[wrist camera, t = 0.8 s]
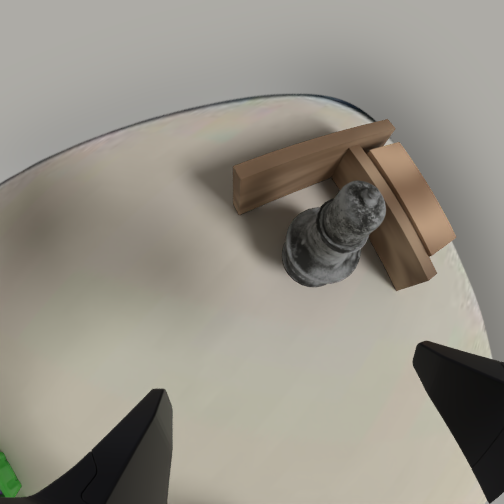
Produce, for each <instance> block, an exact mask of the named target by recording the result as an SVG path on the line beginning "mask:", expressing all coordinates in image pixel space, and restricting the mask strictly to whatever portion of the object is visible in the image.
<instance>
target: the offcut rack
mask: <svg viewBox="0 0 504 504" xmlns="http://www.w3.org/2000/svg"><path fill="white" fill-rule="evenodd" d="M394 130H395V128H394V126H393V125H392V124H391V123H390V121H389V120H388V119H387V120H382V121H378V122H374V123H370V124H365V125H361V126H357V127H354V128H350V129H346V130H342V131H339V132H335V133H331V134H328V135H324V136H321V137H318V138H314V139H311V140H308V141H304V142H301V143H298V144H295V145H292V146H289V147H286V148H283V149H280V150H277V151H274V152H271V153H268V154H265V155H262V156H259V157H257V158H254V159H251V160H248V161H246V162H243V163H240V164H238V165H235V166H233V204H234V206H235V208H236V210H237V212H238V214H239V215H241V214H243V213H245V212H248V211H250V210H252V209H255V208H257V207H260V206H262V205H264V204H267V203H269V202H271V201H274V200H276V199H279V198H281V197H284V196H286V195H288V194H291V193H293V192H296V191H298V190H301V189H303V188H306V187H308V186H311V185H313V184H316V183H318V182H321V181H324V180H326V179H329V178H331V177H332V179H333V181H334V182H335V184H336V185H337V187H338V188H339V190H341V189H342V188H343V187H344V186H345V185H346V184H348V183H350V182H352V181H357V180H358V181H365V182H368V183H370V184H372V185H373V186H375V187H376V188H378V190H379V191H380V193H381V194H382V196H383V198H384V201H385V206H386V215H385V217H384V220H383V222H382V223H381V224H380V226H379V227H378V228H376V229H375V230H374V231H373V232H371V233H370V234H369V237H368V238H369V239H370V241H371V243H372V245H373V247H374V248H375V250H376V252H377V254H378V256H379V258H380V259H381V261H382V263H383V265H384V267H385V269H386V271H387V273H388V275H389V277H390V279H391V281H392V283H393V285H394V287H395V289H396V291H398V290H401V289H404V288H407V287H410V286H414V285H417V284H420V283H423V282H426V281H429V280H430V279H431V278H432V277H433V276H435V275H436V274H437V272H436V270H435V268H434V266H433V264H432V262H431V260H430V258H429V256H428V254H427V252H426V250H425V248H424V246H423V244H422V242H421V240H420V238H419V237H418V235H417V233H416V231H415V229H414V227H413V226H412V224H411V222H410V220H409V219H408V217H407V215H406V214H405V212H404V210H403V209H402V207H401V205H400V204H399V202H398V200H397V199H396V197H395V196H394V194H393V192H392V191H391V189H390V188H389V186H388V185H387V183H386V182H385V180H384V179H383V177H382V176H381V174H380V173H379V171H378V170H377V168H376V167H375V166H374V164H373V163H372V161H371V160H370V159H369V157H368V156H367V154H368V152H369V151H370V150H372V149H375V148H379V147H383V146H384V144H385V143H386V141H387V140H388V139H389V137H390V136H391V134H392V133H393V132H394Z"/></svg>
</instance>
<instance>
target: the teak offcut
mask: <svg viewBox="0 0 504 504" xmlns="http://www.w3.org/2000/svg"><path fill="white" fill-rule="evenodd" d="M367 156H368V157H369V159H370V160H371V161H372V163H373V164H374V166H375V167H376V168H377V170H378V171H379V173H380V174H381V176H382V177H383V179H384V180H385V182H386V183H387V185H388V186H389V188H390V189H391V191H392V192H393V194H394V196H395V197H396V199H397V200H398V202H399V204H400V205H401V207H402V209H403V210H404V212H405V214H406V215H407V217H408V219H409V220H410V222H411V224H412V226H413V227H414V229H415V231H416V233H417V235H418V237H419V238H420V240H421V242H422V244H423V246H424V248H425V250H426V252H427V254H428V256H429V257H430V256H432V255H433V254H435V253H436V252H437V251H439V250H440V249H442V248H443V247H444V246H446V245H447V244H448V243H450V242H451V241H452V240H454V239H455V238H456V236H455V233H454V231H453V230H452V227H451V225H450V223H449V221H448V219H447V218H446V216H445V214H444V212H443V210H442V208H441V207H440V205H439V203H438V201H437V199H436V198H435V196H434V194H433V192H432V191H431V189H430V187H429V186H428V184H427V182H426V181H425V179H424V178H423V176H422V174H421V173H420V172H419V170H418V168H417V167H416V165H415V164H414V162H413V161H412V159H411V158H410V156H409V155H408V154H407V152H406V151H405V149H404V148H403V146H402V145H401V144H400V142H398V143H394V144H390V145H386V146H383V147H379V148H375V149H372V150H370V151H369V152H368V154H367Z"/></svg>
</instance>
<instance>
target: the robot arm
mask: <svg viewBox="0 0 504 504" xmlns="http://www.w3.org/2000/svg"><path fill="white" fill-rule="evenodd" d="M413 366H414V368H415V370H416V372H417V374H418V376H419V378H420V380H421V382H422V384H423V386H424V388H425V390H426V392H427V394H428V396H429V397H430V399H431V400H432V402H433V404H434V405H435V407H436V408H437V410H438V412H439V413H440V415H441V416H442V418H443V420H444V421H445V423H446V425H447V426H448V428H449V430H450V431H451V433H452V435H453V436H454V438H455V440H456V442H457V443H458V445H459V447H460V449H461V450H462V452H463V454H464V456H465V457H466V459H467V461H468V463H469V465H470V467H471V468H472V471H473V473H474V475H475V476H476V478H477V480H478V482H479V484H480V486H481V488H482V490H483V492H484V494H485V497H486V499H487V501H488V502H489V504H490V503H492V501H494V500H495V499H496V498H498V497H499V496H500V495H501V494H502V493H503V492H504V362H499V361H497V360H493V359H489V358H485V357H482V356H478V355H475V354H471V353H468V352H464V351H461V350H457V349H454V348H450V347H447V346H443V345H440V344H437V343H433V342H430V341H423V342H421V343H419V344H418V345H417V346H416V350H415V354H414V357H413ZM172 419H173V411H172V405H171V403H170V400H169V397H168V394H167V392H166V390H165V389H152V390H151V391H150V392H149V393H148V394H147V395H146V396H145V397H144V398H143V399H142V400H141V401H140V402H139V403H138V404H137V405H136V406H135V407H134V408H133V409H132V410H131V411H130V412H129V413H128V414H127V415H126V416H125V417H124V418H123V419H122V420H121V421H120V422H119V423H118V424H117V425H116V426H115V427H114V428H113V429H112V430H111V431H110V432H109V433H108V434H107V435H106V436H105V437H104V438H103V439H102V440H101V441H100V442H99V443H98V444H97V445H96V446H95V447H94V448H93V449H92V452H91V451H90V452H89V453H88V454H87V455H86V456H85V457H84V458H83V459H82V460H80V461H79V462H78V463H77V464H76V465H75V466H74V467H73V468H71V469H70V470H69V471H67V472H66V473H65V474H64V475H62V476H61V477H60V478H58V479H57V480H55V481H54V482H53V483H51V484H50V485H48V486H47V487H45V488H44V489H43V490H41V491H40V492H38V493H36V494H34V495H31V496H28V497H0V504H167V498H168V487H169V477H170V468H171V459H172V449H173V439H172Z"/></svg>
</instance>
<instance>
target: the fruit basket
mask: <svg viewBox="0 0 504 504" xmlns="http://www.w3.org/2000/svg"><path fill="white" fill-rule="evenodd" d="M21 486H22V485H21V483H20V482H19V481H18V480H17V477H16V475H15V473H14V472H13V470H12V468H11V466H10V464H9V463H8V461H7V460H6V457H5V455H4V453H3V452H0V497H15V496H16V494H17V493H18V491H19V490H20V488H21Z"/></svg>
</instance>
